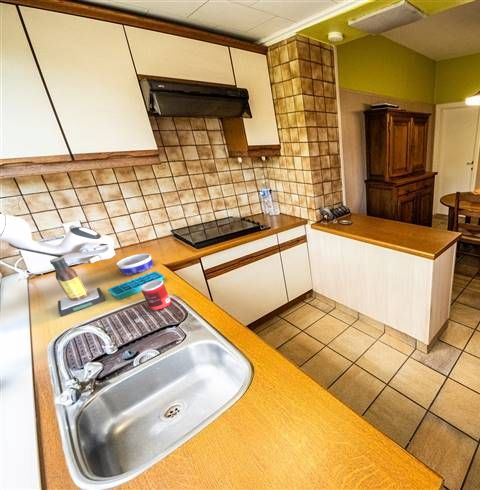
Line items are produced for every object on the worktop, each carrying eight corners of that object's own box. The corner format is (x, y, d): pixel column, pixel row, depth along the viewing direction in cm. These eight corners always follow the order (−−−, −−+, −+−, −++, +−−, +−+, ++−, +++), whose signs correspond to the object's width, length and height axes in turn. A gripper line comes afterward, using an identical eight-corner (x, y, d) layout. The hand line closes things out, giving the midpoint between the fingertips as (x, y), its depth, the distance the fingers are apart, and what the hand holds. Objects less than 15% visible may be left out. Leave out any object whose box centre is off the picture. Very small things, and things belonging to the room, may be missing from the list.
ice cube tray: (109, 294, 127) (106, 289, 126) (157, 275, 142) (155, 270, 141) (117, 301, 121) (115, 296, 120) (167, 281, 136) (164, 276, 135)
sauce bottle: (74, 295, 122) (51, 257, 114) (91, 292, 124) (70, 254, 116) (66, 303, 116) (42, 263, 108) (85, 299, 119) (62, 260, 111)
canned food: (168, 298, 121) (159, 277, 117) (174, 304, 117) (165, 283, 112) (148, 306, 116) (138, 285, 112) (153, 313, 111) (143, 291, 107)
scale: (61, 316, 112) (57, 311, 111) (60, 305, 121) (57, 299, 119) (105, 301, 122) (102, 295, 121) (101, 291, 130) (98, 286, 129)
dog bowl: (159, 266, 153) (155, 256, 151) (126, 278, 141) (121, 268, 139) (147, 260, 161) (143, 251, 158) (116, 271, 149) (111, 262, 147)
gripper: (62, 250, 130) (43, 262, 118) (114, 242, 136) (100, 253, 124) (69, 262, 132) (51, 275, 121) (119, 253, 139) (107, 265, 127)
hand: (77, 264), depth 123 cm, fingers open, 8 cm apart
